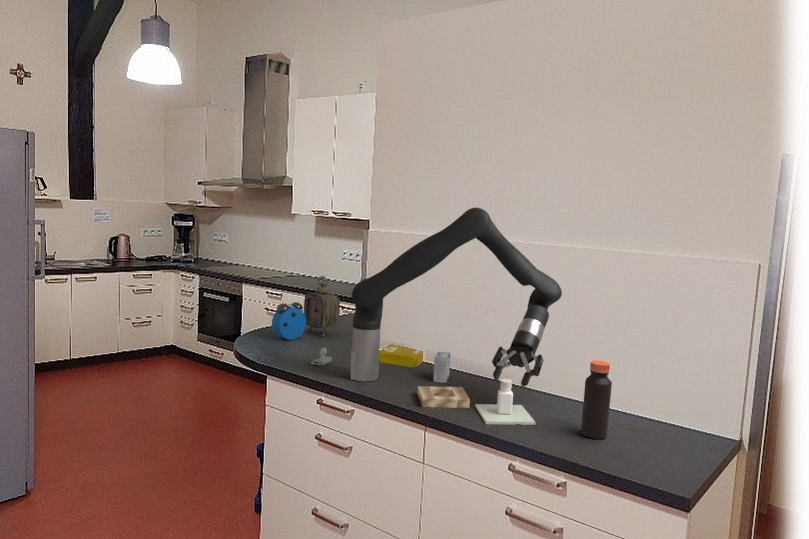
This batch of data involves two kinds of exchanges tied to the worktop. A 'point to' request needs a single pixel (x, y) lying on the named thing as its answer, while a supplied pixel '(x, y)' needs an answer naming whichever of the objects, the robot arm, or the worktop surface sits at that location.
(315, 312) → the tabletop clock
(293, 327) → the alarm clock
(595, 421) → the bottle
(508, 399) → the salt shaker
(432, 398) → the oak holder
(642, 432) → the worktop surface
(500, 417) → the sage trivet
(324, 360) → the pacifier
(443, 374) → the medicine box
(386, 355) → the element tile
